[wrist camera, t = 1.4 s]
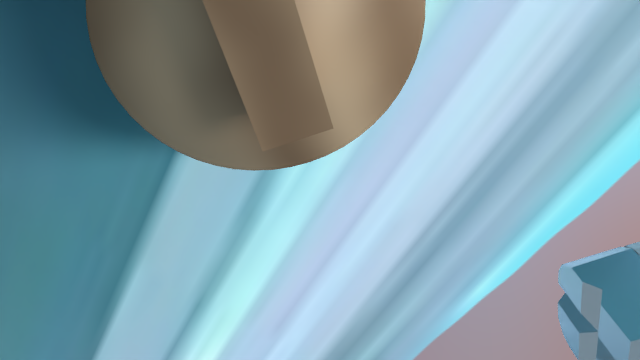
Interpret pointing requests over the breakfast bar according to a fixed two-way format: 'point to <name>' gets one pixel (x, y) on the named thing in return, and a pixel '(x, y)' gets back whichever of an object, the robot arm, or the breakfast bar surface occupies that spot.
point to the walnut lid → (255, 72)
